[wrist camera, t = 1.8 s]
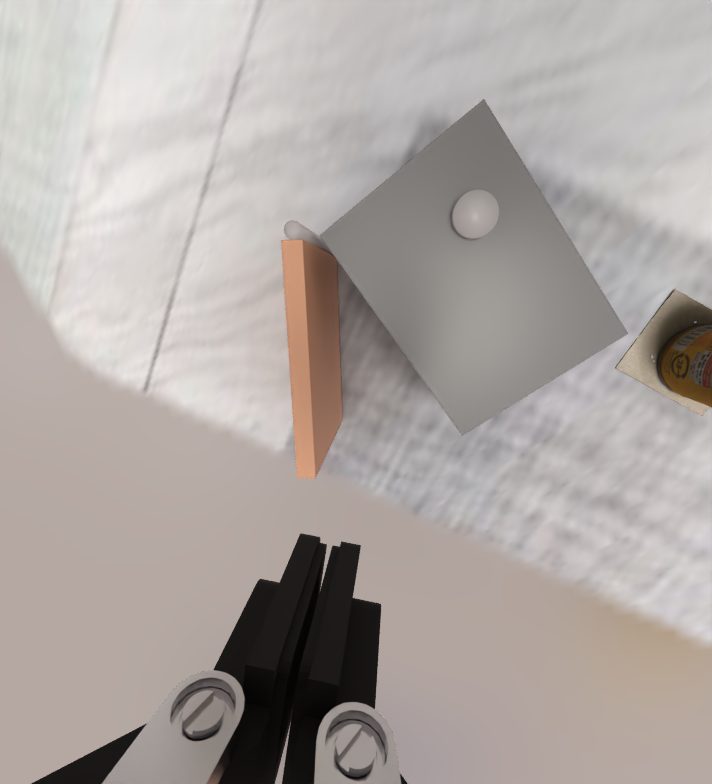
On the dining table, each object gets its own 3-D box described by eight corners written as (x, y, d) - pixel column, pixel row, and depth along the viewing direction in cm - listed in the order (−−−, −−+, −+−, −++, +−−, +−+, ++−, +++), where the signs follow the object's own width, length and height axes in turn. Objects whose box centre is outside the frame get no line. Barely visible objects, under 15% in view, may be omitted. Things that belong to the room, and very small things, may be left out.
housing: (456, 164, 31) (487, 91, 20) (556, 320, 33) (636, 335, 22) (345, 253, 34) (317, 233, 22) (444, 393, 36) (464, 440, 24)
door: (336, 245, 33) (301, 219, 22) (342, 420, 37) (315, 478, 25) (312, 246, 34) (265, 221, 22) (321, 420, 37) (284, 477, 26)
